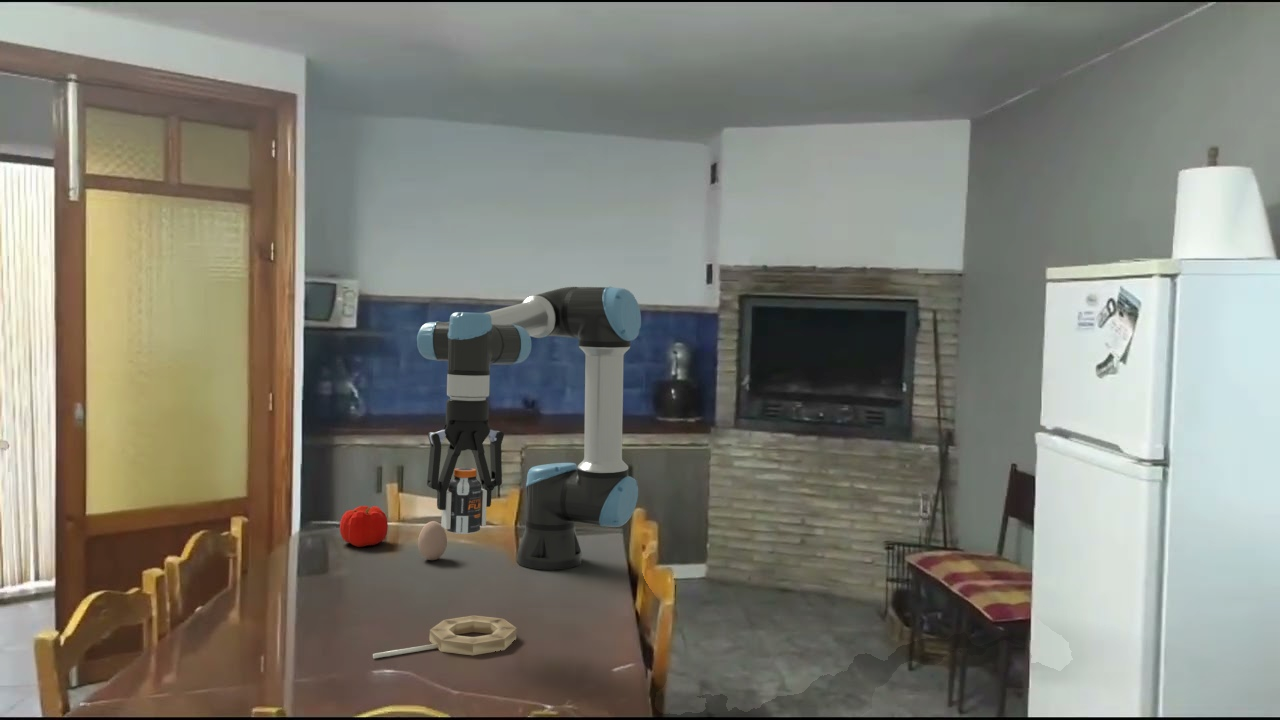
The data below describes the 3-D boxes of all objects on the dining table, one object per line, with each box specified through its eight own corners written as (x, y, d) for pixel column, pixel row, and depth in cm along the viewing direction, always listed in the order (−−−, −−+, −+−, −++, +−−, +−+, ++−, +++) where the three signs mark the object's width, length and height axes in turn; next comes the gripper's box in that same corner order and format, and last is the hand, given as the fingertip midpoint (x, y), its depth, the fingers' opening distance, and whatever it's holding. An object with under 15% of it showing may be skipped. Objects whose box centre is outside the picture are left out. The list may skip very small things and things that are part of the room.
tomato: (350, 538, 238) (351, 502, 237) (395, 541, 236) (396, 505, 236) (330, 548, 227) (331, 511, 227) (378, 551, 225) (378, 514, 225)
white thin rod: (436, 647, 162) (436, 642, 162) (438, 648, 161) (438, 644, 161) (372, 657, 156) (372, 653, 156) (374, 659, 155) (374, 654, 155)
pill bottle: (472, 535, 166) (473, 472, 165) (440, 533, 167) (442, 469, 166) (485, 529, 171) (486, 467, 171) (454, 526, 173) (456, 465, 172)
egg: (451, 561, 218) (452, 522, 218) (423, 564, 215) (424, 525, 214) (440, 555, 224) (441, 517, 223) (413, 558, 220) (414, 519, 220)
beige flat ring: (494, 622, 176) (494, 612, 176) (526, 646, 164) (526, 635, 164) (421, 634, 168) (421, 623, 168) (449, 659, 157) (449, 647, 156)
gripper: (508, 396, 176) (504, 518, 177) (409, 396, 167) (405, 525, 167) (524, 399, 170) (520, 526, 171) (422, 400, 160) (418, 534, 161)
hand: (463, 525), depth 169 cm, fingers closed on pill bottle, 6 cm apart
